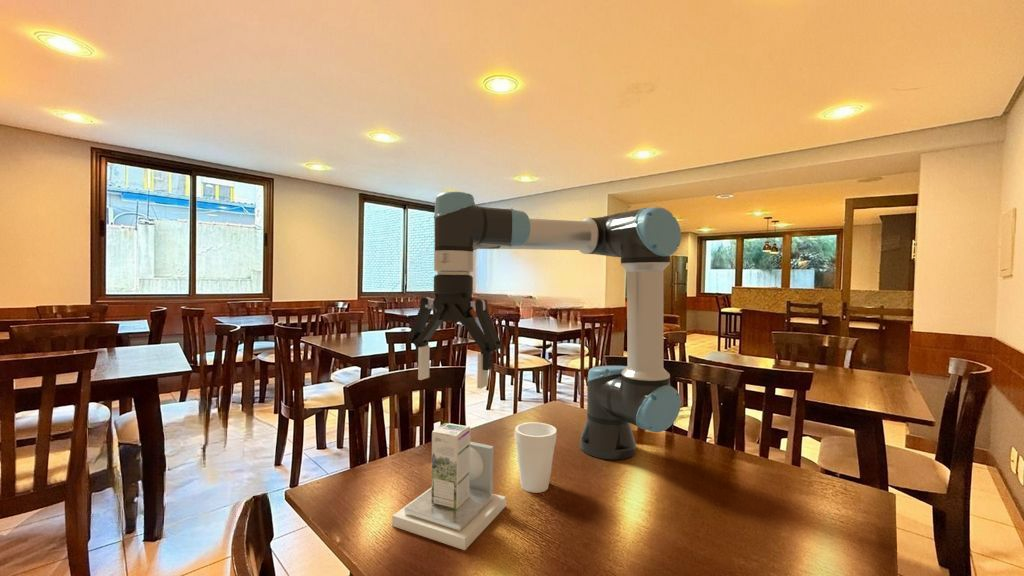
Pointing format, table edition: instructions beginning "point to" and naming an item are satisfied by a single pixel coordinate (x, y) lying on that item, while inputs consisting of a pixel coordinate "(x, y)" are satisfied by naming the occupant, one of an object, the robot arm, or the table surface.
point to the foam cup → (535, 454)
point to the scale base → (462, 539)
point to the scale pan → (449, 509)
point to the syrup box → (450, 465)
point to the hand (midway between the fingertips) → (452, 382)
